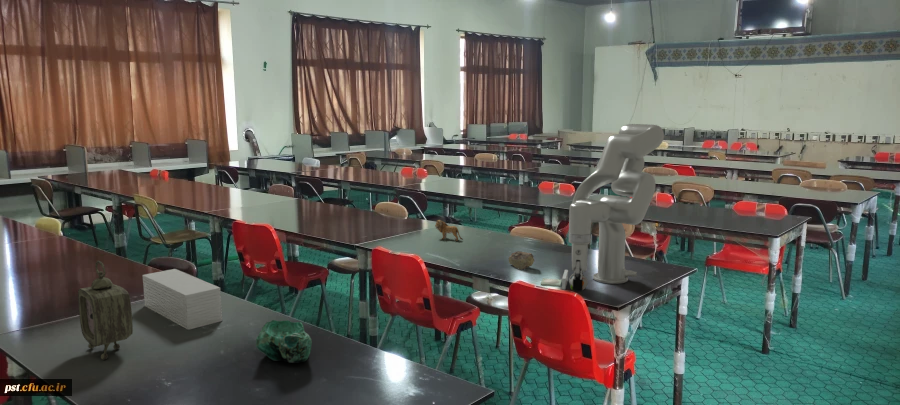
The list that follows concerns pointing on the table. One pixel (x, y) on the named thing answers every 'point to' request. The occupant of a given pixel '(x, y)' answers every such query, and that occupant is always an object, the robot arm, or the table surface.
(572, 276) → the roller toy
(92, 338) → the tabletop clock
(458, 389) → the table surface
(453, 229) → the lion figurine
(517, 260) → the rock
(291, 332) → the mineral
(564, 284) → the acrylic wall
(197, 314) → the stack of papers
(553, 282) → the mat
